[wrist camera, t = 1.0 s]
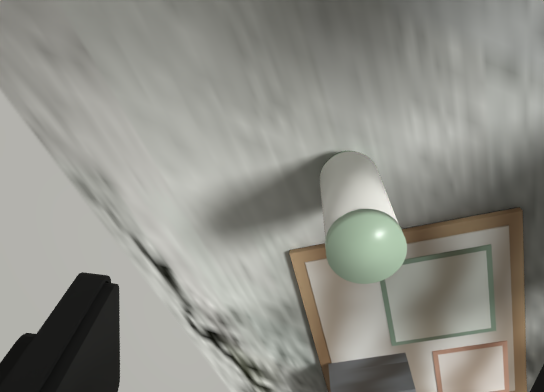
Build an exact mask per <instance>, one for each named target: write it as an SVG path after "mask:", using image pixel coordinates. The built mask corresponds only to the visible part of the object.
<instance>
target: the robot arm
mask: <svg viewBox="0 0 544 392" xmlns="http://www.w3.org/2000/svg"><path fill="white" fill-rule="evenodd" d="M119 342H120V341H119V286H118V284H113V283H111V279H110V277H109V276H106V275H99V274H91V273H80V274H79V275H78V276H77V277H76V279H75V280H74V281H73V283H72V284H71V286H70V287H69V289H68V290H67V291H66V293H65V294H64V296H63V297H62V299H61V300H60V301H59V303H58V304H57V306H56V307H55V309H54V310H53V311H52V313H51V314H50V316H49V317H48V319H47V320H46V321H45V323H44V324H43V326H42V327H41V329H40V330H39V331H38V333H37V334H31V333H26V334H24V335H22V336H21V337H20V338H19V339H18V340H17V341H16V342H15V344H14V345H13V347H12V348H11V349H10V351H9V352H8V354H7V355H6V356H5V357H4V359H3V360H2V362H1V363H0V392H118V387H119V382H120V351H119V350H120V343H119ZM530 392H544V365H543V367H542V369H541V371H540V373H539V375H538V377H537V379H536V381H535V383H534V385H533V387H532V389H531V391H530Z"/></svg>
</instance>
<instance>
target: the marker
mask: <svg viewBox="0 0 544 392" xmlns="http://www.w3.org/2000/svg"><path fill="white" fill-rule="evenodd" d="M320 189H321V199H322V209H323V219H324V229H325V239H326V240H325V249H326V257H327V261H328V264H329V266H330V267H331V269H332V270H333V271H334V272H335V273H336V274H337V275H338V276H339V277H341V278H343V279H345V280H347V281H350V282H353V283H358V284H370V283H376V282H379V281H382V280H384V279H387V278H388V277H390V276H391V275H393V274H394V273H395V272H396V271H397V270H398V269H399V268H400V267H401V265H402V264H403V262H404V260H405V257H406V254H407V243H406V239H405V237H404V234H403V232H402V229H401V227H400V225H399V224H398V221H397V219H396V216H395V214H394V211H393V208H392V206H391V203H390V201H389V198H388V196H387V193H386V190H385V188H384V185H383V183H382V180H381V177H380V175H379V172H378V170H377V167H376V165H375V164H374V162H373V161H372V160H371V159H370V158H369V157H367V156H366V155H364V154H361V153H358V152H354V151H343V152H340V153H337V154H335V155H334V156H333V157H332V158H330V159H329V160H328V161H327V162H326V164H325V165H324V166H323V168H322V170H321V174H320Z"/></svg>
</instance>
